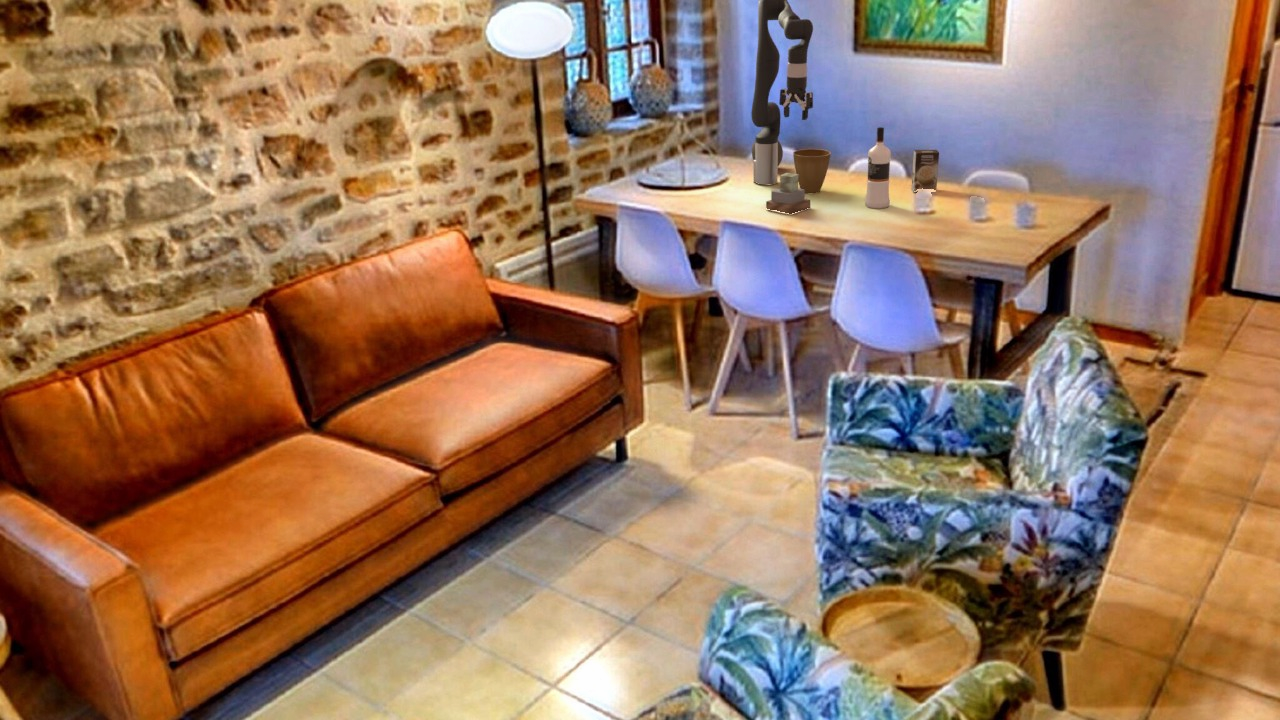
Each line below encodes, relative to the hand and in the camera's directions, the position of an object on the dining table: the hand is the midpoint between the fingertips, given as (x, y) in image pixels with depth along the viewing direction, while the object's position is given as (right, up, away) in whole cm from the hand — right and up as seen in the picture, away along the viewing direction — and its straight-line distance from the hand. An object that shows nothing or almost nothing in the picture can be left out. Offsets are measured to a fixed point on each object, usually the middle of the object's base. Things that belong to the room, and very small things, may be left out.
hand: (795, 118), depth 407 cm
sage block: (-3, -28, 0) cm, 28 cm away
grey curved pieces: (-3, -8, +65) cm, 66 cm away
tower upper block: (-3, -31, +1) cm, 31 cm away
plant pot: (+10, -24, +27) cm, 37 cm away
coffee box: (+54, -25, +19) cm, 63 cm away
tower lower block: (-2, -35, +3) cm, 35 cm away
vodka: (+31, -33, +1) cm, 46 cm away
